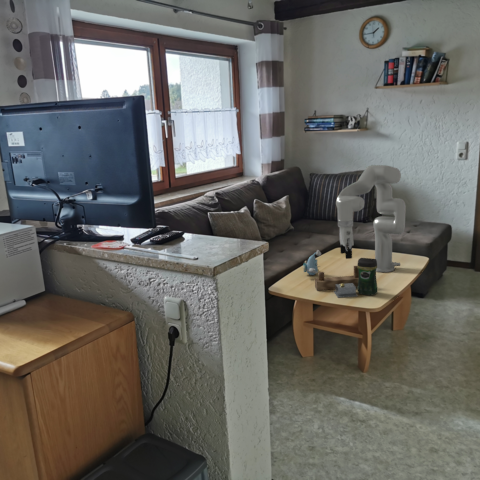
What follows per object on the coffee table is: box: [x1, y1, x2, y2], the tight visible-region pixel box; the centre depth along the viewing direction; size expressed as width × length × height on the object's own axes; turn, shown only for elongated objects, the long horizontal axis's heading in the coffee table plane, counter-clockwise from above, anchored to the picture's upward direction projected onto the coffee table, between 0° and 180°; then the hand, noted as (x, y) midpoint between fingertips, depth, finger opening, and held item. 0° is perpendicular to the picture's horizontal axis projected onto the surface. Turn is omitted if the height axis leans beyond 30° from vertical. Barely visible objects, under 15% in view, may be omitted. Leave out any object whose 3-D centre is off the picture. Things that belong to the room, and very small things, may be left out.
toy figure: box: [302, 249, 322, 276], centre depth 284 cm, size 17×10×15 cm, turn 168°
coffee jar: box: [356, 257, 379, 296], centre depth 248 cm, size 10×8×19 cm
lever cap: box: [334, 283, 357, 296], centre depth 250 cm, size 9×6×5 cm, turn 93°
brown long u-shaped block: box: [314, 265, 359, 292], centre depth 261 cm, size 26×6×11 cm, turn 93°
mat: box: [333, 290, 359, 299], centre depth 251 cm, size 10×9×1 cm
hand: (346, 255), depth 250 cm, fingers open, 9 cm apart
